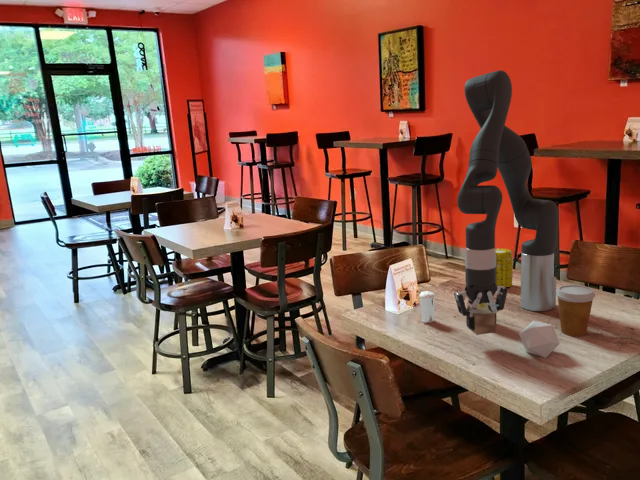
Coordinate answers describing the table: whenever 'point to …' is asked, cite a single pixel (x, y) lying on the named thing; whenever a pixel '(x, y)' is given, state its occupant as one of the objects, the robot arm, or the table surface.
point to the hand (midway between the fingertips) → (481, 327)
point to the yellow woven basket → (504, 267)
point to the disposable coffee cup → (574, 308)
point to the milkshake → (427, 306)
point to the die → (539, 338)
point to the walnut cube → (484, 321)
